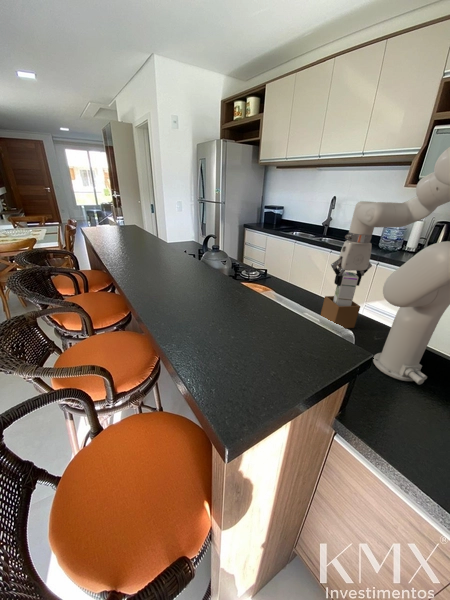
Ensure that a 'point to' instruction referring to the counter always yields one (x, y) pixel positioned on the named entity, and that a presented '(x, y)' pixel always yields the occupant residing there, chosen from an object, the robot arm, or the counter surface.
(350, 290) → the syrup box
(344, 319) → the brown open bin
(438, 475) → the counter surface
